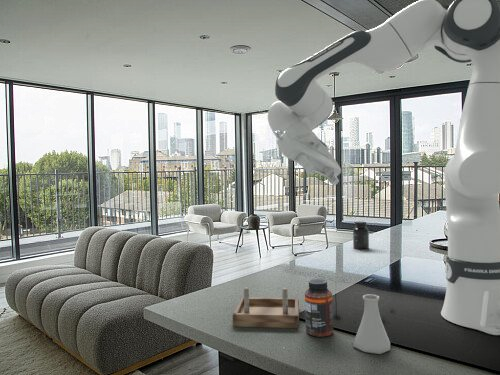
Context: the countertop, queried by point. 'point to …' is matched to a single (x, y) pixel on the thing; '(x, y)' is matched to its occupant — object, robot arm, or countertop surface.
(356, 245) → the supplement bottle
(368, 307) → the flask
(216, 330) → the countertop surface
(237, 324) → the tray
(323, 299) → the supplement bottle
